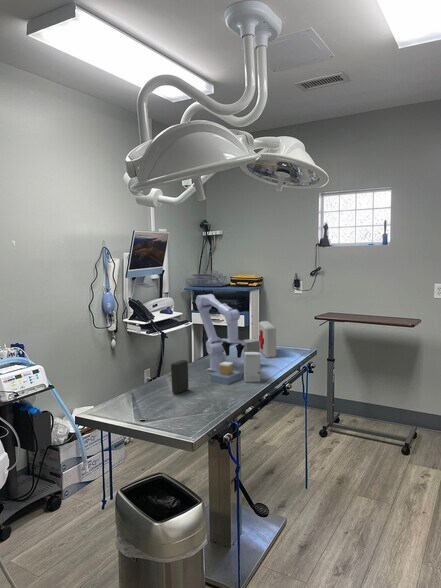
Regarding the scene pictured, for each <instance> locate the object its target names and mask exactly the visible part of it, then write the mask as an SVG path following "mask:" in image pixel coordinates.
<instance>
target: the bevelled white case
mask: <svg viewBox="0 0 441 588" xmlns="http://www.w3.org/2000/svg"><path fill="white" fill-rule="evenodd" d="M258 340H259V341H260V352H262V354H263V355H264V356H265V358H267V359H270V358H269V357H274V358H276V357H277V328H276V326H274V325H273V324H272V323H270V322H269V321H267V320H262V321H260V322H259V323H258Z"/></svg>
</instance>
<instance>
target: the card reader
mask: <svg viewBox="0 0 441 588" xmlns="http://www.w3.org/2000/svg"><path fill="white" fill-rule="evenodd" d="M170 372H171V373H170V375H171V376H170V377H171V392H172V393H173V394H176V395H179V394H181V393H183V392H185V391H188V390H189V364H188V360H186V359H181V360H177V361H176V362H175V361H174V362H172V363H171V365H170Z"/></svg>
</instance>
